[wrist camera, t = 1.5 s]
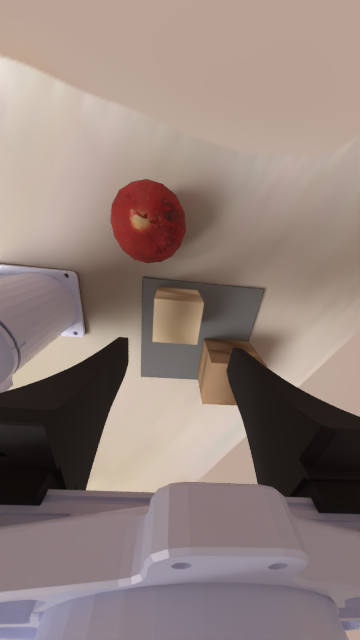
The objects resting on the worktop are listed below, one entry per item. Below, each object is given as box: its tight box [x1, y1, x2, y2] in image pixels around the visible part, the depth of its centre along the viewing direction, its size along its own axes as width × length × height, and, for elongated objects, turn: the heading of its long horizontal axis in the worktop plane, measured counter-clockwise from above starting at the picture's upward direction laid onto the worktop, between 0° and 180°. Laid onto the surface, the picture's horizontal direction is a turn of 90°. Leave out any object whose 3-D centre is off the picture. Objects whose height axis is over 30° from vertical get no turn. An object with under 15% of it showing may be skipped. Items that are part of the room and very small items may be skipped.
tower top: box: [200, 349, 267, 405], centre depth 21 cm, size 6×6×2 cm
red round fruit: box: [111, 179, 186, 263], centre depth 14 cm, size 6×6×8 cm
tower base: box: [197, 338, 257, 387], centre depth 23 cm, size 6×6×2 cm
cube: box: [152, 286, 204, 345], centre depth 19 cm, size 4×4×4 cm
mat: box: [141, 277, 264, 380], centre depth 23 cm, size 14×14×1 cm
